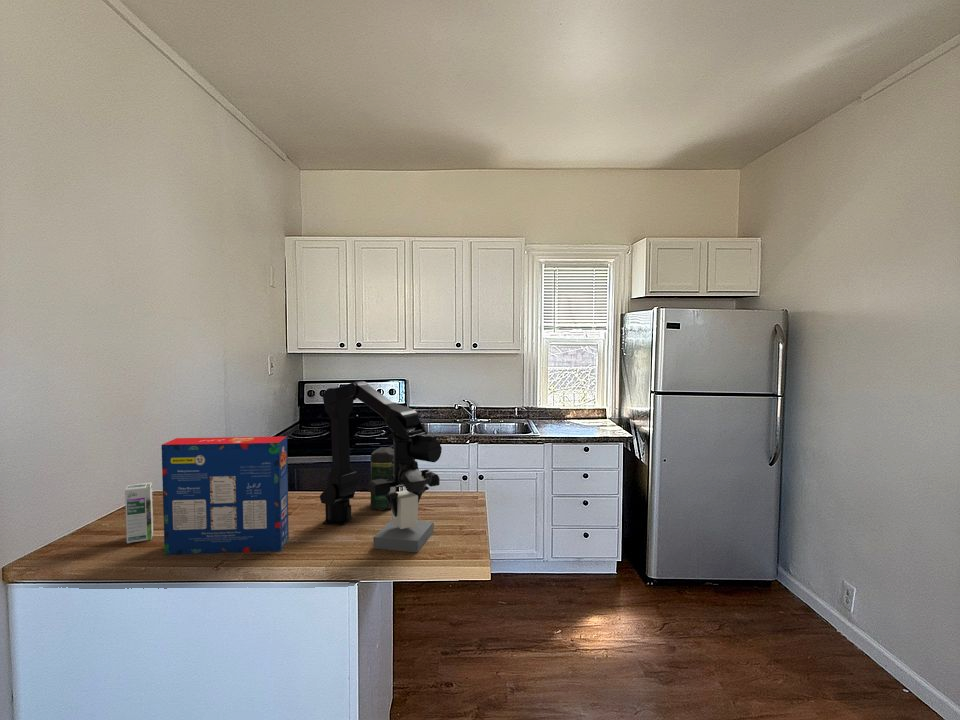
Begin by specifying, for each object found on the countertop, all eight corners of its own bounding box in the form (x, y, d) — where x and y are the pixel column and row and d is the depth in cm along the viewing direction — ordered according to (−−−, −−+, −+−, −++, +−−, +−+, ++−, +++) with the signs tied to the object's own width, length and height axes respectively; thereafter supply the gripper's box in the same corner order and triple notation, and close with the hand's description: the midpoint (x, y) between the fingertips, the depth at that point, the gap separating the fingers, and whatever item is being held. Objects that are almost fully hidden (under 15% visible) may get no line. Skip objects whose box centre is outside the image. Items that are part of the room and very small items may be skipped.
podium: (373, 548, 136) (373, 537, 136) (393, 528, 150) (393, 518, 150) (417, 552, 134) (417, 541, 134) (433, 532, 147) (433, 521, 147)
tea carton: (391, 522, 143) (391, 493, 142) (408, 518, 145) (408, 490, 145) (400, 529, 138) (400, 499, 137) (418, 525, 140) (418, 495, 140)
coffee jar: (393, 510, 165) (393, 452, 164) (368, 510, 165) (368, 452, 164) (398, 500, 174) (398, 445, 173) (374, 500, 174) (374, 445, 173)
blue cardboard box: (288, 538, 142) (287, 436, 141) (280, 551, 134) (278, 442, 133) (179, 542, 139) (176, 438, 138) (164, 555, 131) (161, 444, 130)
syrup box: (126, 544, 138) (124, 489, 137) (129, 536, 143) (127, 483, 142) (151, 540, 141) (150, 486, 140) (153, 532, 146) (152, 481, 145)
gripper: (383, 468, 129) (384, 531, 130) (450, 458, 139) (449, 516, 140) (366, 459, 138) (367, 517, 139) (430, 450, 148) (429, 505, 149)
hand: (404, 514), depth 141 cm, fingers closed on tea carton, 5 cm apart
